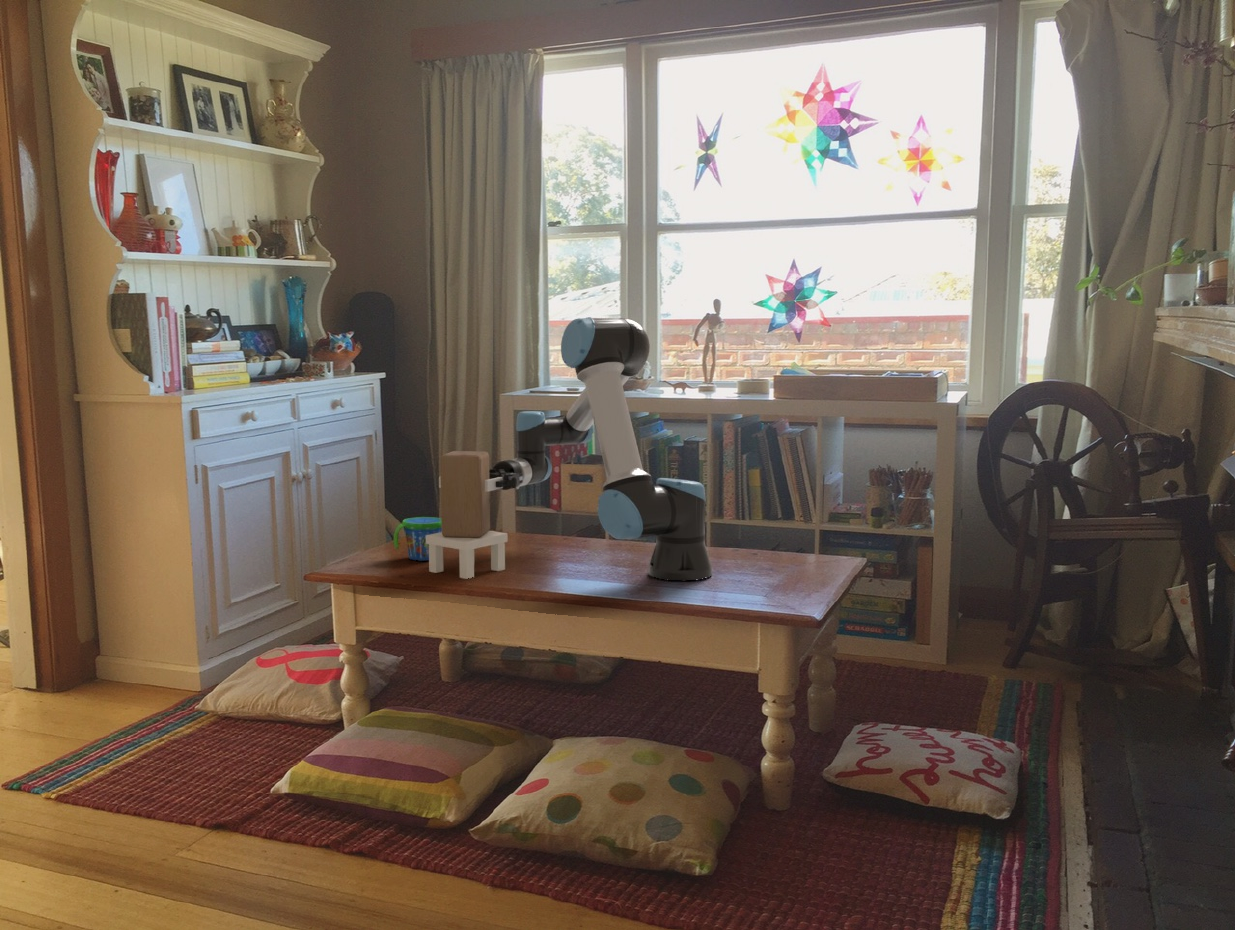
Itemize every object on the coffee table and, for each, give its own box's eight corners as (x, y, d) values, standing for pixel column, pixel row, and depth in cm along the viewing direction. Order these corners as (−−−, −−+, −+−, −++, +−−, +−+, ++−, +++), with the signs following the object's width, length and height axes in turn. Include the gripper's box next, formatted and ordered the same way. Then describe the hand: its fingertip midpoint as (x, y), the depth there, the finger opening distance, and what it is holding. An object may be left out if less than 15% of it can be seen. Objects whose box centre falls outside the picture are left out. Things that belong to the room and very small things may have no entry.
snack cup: (447, 552, 273) (446, 514, 272) (459, 559, 264) (458, 520, 262) (388, 557, 266) (387, 519, 265) (399, 565, 257) (398, 525, 256)
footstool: (507, 569, 252) (507, 533, 251) (466, 579, 241) (466, 542, 240) (467, 561, 261) (467, 527, 260) (426, 571, 250) (425, 535, 249)
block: (491, 531, 254) (489, 451, 252) (481, 538, 245) (480, 455, 242) (451, 530, 256) (450, 450, 253) (440, 537, 246) (438, 454, 243)
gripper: (552, 491, 261) (506, 503, 242) (471, 485, 272) (422, 495, 254) (552, 462, 260) (506, 471, 241) (471, 457, 272) (421, 465, 253)
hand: (462, 484), depth 248 cm, fingers open, 13 cm apart
